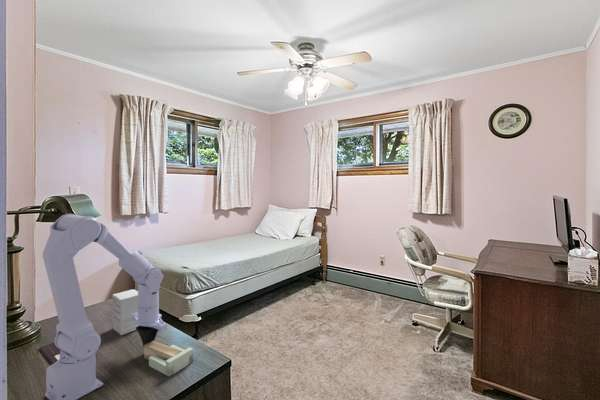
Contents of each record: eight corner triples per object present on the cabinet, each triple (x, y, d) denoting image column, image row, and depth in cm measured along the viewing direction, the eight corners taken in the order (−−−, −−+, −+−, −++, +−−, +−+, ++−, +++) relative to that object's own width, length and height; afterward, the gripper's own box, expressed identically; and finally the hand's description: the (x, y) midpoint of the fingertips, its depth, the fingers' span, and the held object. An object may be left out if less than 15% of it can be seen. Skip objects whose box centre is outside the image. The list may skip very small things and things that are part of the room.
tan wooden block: (173, 370, 83) (173, 356, 83) (144, 358, 88) (144, 345, 88) (181, 364, 86) (181, 350, 86) (153, 352, 91) (153, 340, 91)
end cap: (169, 376, 80) (169, 362, 80) (148, 365, 85) (148, 352, 84) (193, 361, 87) (193, 348, 87) (173, 352, 92) (173, 339, 91)
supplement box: (134, 321, 110) (134, 288, 110) (143, 328, 106) (143, 293, 105) (112, 328, 105) (111, 293, 104) (120, 336, 100) (120, 299, 99)
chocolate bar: (74, 335, 98) (96, 355, 88) (74, 338, 98) (96, 358, 88) (39, 347, 91) (58, 370, 81) (39, 350, 91) (59, 373, 81)
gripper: (175, 305, 90) (175, 348, 91) (146, 295, 97) (146, 335, 98) (154, 314, 84) (154, 360, 85) (124, 302, 91) (124, 345, 92)
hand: (148, 347), depth 91 cm, fingers closed
